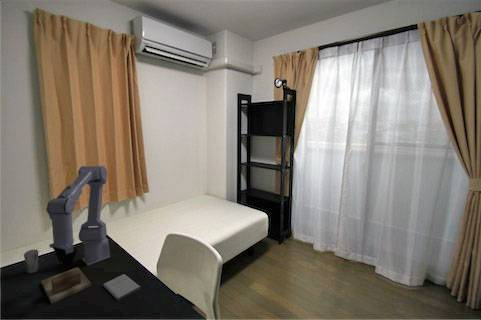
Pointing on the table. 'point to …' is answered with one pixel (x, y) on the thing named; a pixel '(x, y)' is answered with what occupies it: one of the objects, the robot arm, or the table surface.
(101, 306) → the table surface
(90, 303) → the table surface
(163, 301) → the table surface
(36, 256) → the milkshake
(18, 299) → the table surface
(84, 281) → the board
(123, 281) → the external hard drive
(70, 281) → the block
